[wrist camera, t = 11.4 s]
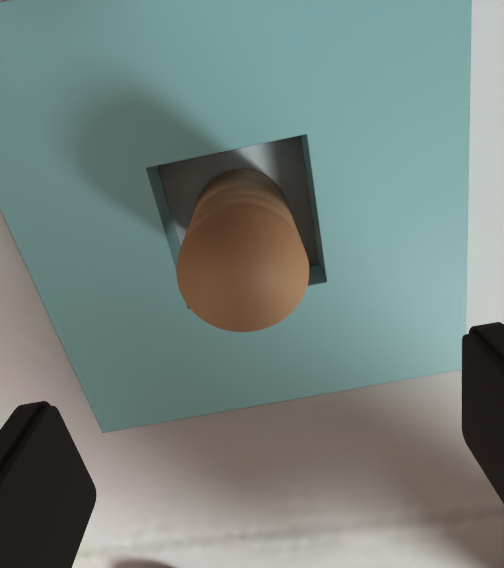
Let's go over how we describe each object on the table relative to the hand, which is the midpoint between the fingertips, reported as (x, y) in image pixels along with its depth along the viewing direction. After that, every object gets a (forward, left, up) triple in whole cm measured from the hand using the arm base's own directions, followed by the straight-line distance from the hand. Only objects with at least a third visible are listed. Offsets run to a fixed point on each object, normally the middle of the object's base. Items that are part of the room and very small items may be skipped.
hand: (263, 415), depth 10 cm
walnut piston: (0, 0, -15) cm, 15 cm away
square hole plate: (0, 0, -15) cm, 15 cm away
